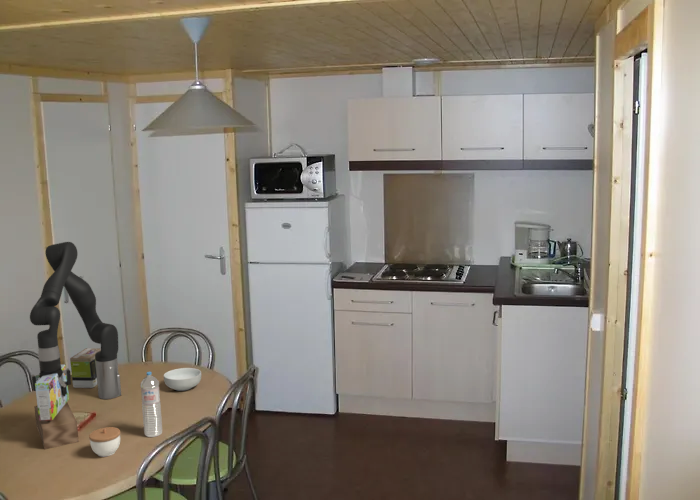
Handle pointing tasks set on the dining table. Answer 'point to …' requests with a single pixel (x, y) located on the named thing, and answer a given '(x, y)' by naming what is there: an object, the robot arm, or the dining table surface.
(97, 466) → the dining table surface
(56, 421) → the walnut stand
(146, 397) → the water bottle
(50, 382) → the snack box
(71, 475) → the dining table surface
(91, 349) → the tea box
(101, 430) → the lidded jar
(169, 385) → the cereal bowl
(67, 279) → the robot arm
